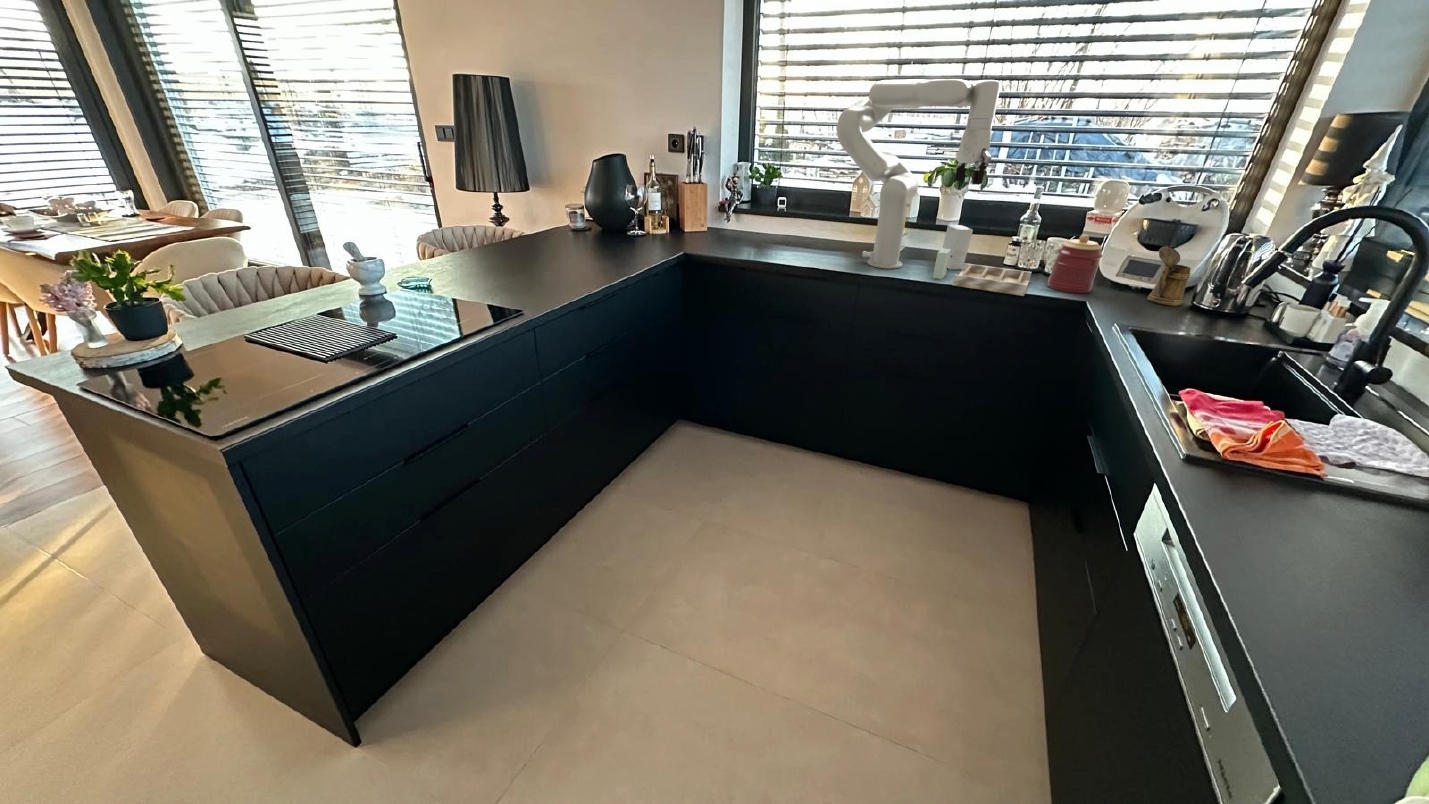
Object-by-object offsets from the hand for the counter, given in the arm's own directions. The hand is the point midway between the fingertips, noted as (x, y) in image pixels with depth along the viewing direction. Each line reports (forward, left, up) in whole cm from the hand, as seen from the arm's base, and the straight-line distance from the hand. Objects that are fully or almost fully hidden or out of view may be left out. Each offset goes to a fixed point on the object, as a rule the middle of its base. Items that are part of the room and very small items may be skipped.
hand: (967, 182), depth 185 cm
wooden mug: (+63, +4, -31) cm, 70 cm away
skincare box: (-1, +14, -31) cm, 34 cm away
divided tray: (+15, -3, -31) cm, 35 cm away
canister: (+38, +6, -31) cm, 49 cm away
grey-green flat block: (-2, -3, -31) cm, 31 cm away
